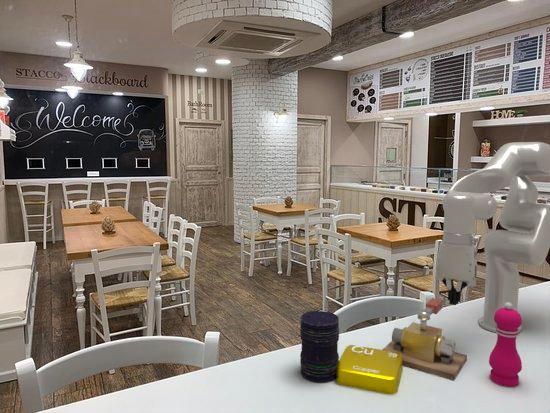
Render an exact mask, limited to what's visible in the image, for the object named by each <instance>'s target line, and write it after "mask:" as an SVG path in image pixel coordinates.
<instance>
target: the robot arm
mask: <svg viewBox="0 0 550 413" xmlns="http://www.w3.org/2000/svg"><path fill="white" fill-rule="evenodd" d="M529 176H537V177H550V144H548V143H547V142H542V141H519V142H518V141H517V142H508V143H505V144H503V145H502V146H500V148H499V149H498V150H497V151H496V152H495V154H493V156H492V157H491V159H490V160H489V161H488V162H487V163H486V165H485V166H484V167H483V168H481V169H478V170H476V171H474V172H472V173H469V174H468V175H465V176H463V177H461V178H459V179H458V180H457V181H456V182H454V184H453V185H452V186H451V187H450V188H449V189H448V191H447V192H446V194H445V196H444V198H443V200H442V210H443V211H444V213H443V214H444V216H443V229H442V230H443V232H442V233H443V234H442V241H440V243H439V247H438V251H437V255H436V262H435V275H434V276H435V277H434V280H436V281H437V282H440V283H442V284H444V286H445V288H446V289H447V292H448V293H447V300H448V301H449V305H453V306H456V305H457V304H458V303H460V302H461V299H462V298H461V296H462V290H463V289H466V287H475V286H476V285H477V280H476V279H477V275H478V257H477V254H478V253H477V248H476V247H477V246H476V245H475V244H474V243H475V242H476V243H478V242H479V237H478V236H475V235H474V222H475V221H474V220H477V221H478V220H479V221H488V220H489V219H491V218H493V217H494V216H495V215H496V213H497V211H498V202H497V199H496V198H495V197H494V196H492V195H490V194H489V193H491V192H495V191H496V192H497V191H501V190H503V189H505V188H507V187H509V188H508V189H509V190H508V193H507V196H506V198H505V201H504V204H503V205H502V209H501V211H500V214H499V220H498V222H499V225H500V226H501V227H502V228H504V229H505V230H504V229H495V230H491V231H489V232H487V234H486V236H485V237H484V241H483V247H484V248H483V249H484V254H485V256H484V257H485V284H484V285H485V286H484V287H485V288H484V303H483V308H484V309H483V316H481V317H479V318H478V320H477V322H478V325H479V327H481V328H483V329H484V330H486V331H489V332H494V333H496V326H497V324H496V323H495V321H494V315H495V312H496V311H497V310H498V309H500V308H505V306H504V305H505V303H507V302H509V303H511V304H512V305H513V308H512V309H514V310H516V311H517V312H518V307H519V306H518V303H519V287H520V273H519V270H518V268H517V266H516V264H520V265H527V266H531V267H537V266H541V265H542V264H543V263H544V262H545V261H546V258H547V256H548V253H549V250H550V204H545V203H537V201H538V198H539V193H540V192H539V190H538V188H537V186H536V185H535V183H534V182H533V180H531V179H530V177H529ZM515 263H516V264H515ZM454 281H456V286H455V285H454V283H455V282H454ZM522 329H523V326H522V325H521V326H520V327H519V328H518V330H519V332H518V334H519V333H520V332H522Z"/></svg>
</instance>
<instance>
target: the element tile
mask: <svg viewBox="0 0 550 413" xmlns="http://www.w3.org/2000/svg"><path fill="white" fill-rule="evenodd" d="M403 367H404V366H403V356H402V355H401V354H400V353H398V352H393V351H386V350H382V349H378V348H373V347H368V346H361V345H354V344H353V345H352V344H350V345H349V344H348V346H346V347H345V349H344V351H343V352H342V355H341V356H340V357H339V362H338V363H337V365H336V379H335V381H336V383H337V384H339V385H340V386H345V387H350V388H355V389H358V390H359V389H360V390H365V391H369V392H376V393H380V394H385V395H395V394H397V393H398V391H399V386H400V382H401V377H402V373H403Z"/></svg>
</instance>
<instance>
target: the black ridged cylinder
mask: <svg viewBox="0 0 550 413" xmlns="http://www.w3.org/2000/svg"><path fill="white" fill-rule="evenodd" d="M339 320H340V319H339V316H338V315H337V314H335V313H333V312H329V311H323V310H313V311H312V310H311V311H307V312H305V313H303V314H301V315H300V327H299V330H300V331H299V334H300V340H301V350H300V355H299V357H300V360H299V362H300V363H299V364H300V375H301V377H302V378H303V379H304V380H306V381H307V382H308V381H309V382H310V383H315V384H316V383H317V384H327V383H330V382H333V381H336V365H337V363H338V362H339V360H340V355H339V352H338V344H339V338H340V325H339V322H340V321H339Z"/></svg>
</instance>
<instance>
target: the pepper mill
mask: <svg viewBox="0 0 550 413" xmlns="http://www.w3.org/2000/svg"><path fill="white" fill-rule="evenodd" d="M504 306H505V308H500V309H498V310H497V311H496V312H495V315H494V321H495V323H496V324H497V326H496V332H495V333H496V334H497V337H496V338H497V339H496V344H495V345H494V347H493V349H492V351H491V352H490V354H489V358H488V364H489V366H490V368H491V369H490V374H489V378H490V379H491V381H492V382H494V383H495V384H497V385H500V386H504V387H515V386H518V385H519V381H520V380H519V379H520V375H519V374H520V373H521V371H522V368H523V364H522V360H521V357H520V354H519V352H518V349H517V337H519V335H520V334H519V333H520V332H519V330H518V328H519V327H520V326H522V323H523V320H522V316H521V314H520V312H518V310H517V311H516V310H514V309H512V308H513V305H512V304H511V303H509V302H507V303H505V305H504ZM518 332H519V333H518Z"/></svg>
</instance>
